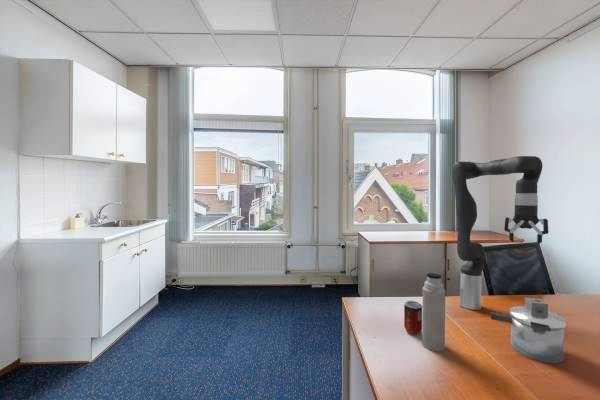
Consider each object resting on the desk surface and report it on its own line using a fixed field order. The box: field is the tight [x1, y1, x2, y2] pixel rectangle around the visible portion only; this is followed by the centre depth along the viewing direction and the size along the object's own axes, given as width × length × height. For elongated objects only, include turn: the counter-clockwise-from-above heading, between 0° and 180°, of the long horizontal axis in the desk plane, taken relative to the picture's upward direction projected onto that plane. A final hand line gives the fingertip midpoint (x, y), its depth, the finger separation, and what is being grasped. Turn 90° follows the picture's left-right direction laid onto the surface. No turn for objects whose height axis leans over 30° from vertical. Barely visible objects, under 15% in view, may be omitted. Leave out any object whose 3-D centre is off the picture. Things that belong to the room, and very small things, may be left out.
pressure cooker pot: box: [490, 311, 565, 364], centre depth 107 cm, size 22×17×12 cm
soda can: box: [403, 300, 422, 336], centre depth 120 cm, size 7×7×12 cm
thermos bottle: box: [421, 272, 446, 352], centre depth 108 cm, size 8×8×28 cm
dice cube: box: [524, 297, 549, 318], centre depth 105 cm, size 5×5×5 cm
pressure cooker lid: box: [509, 305, 567, 332], centre depth 103 cm, size 16×18×2 cm
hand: (525, 242), depth 117 cm, fingers open, 8 cm apart
